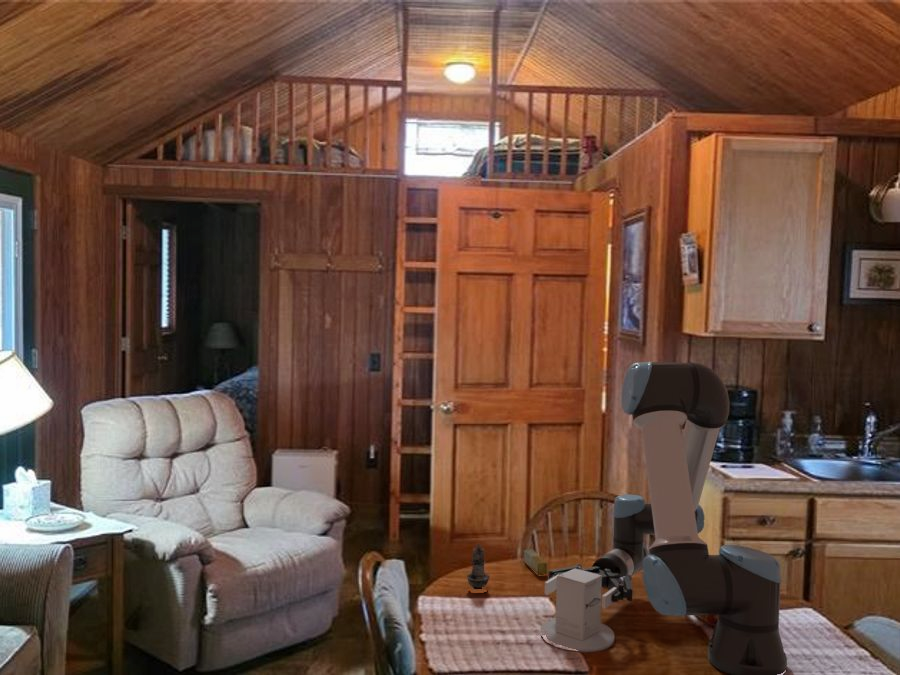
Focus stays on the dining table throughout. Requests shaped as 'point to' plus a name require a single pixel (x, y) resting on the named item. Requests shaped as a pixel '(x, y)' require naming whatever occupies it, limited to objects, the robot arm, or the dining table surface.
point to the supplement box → (578, 603)
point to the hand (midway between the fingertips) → (574, 595)
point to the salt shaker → (478, 569)
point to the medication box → (535, 561)
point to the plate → (589, 644)
